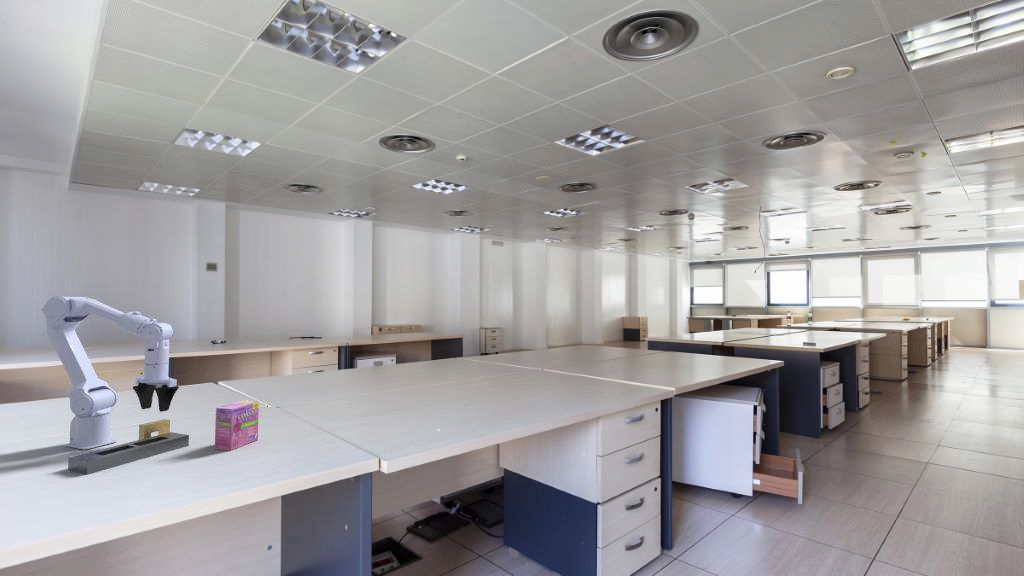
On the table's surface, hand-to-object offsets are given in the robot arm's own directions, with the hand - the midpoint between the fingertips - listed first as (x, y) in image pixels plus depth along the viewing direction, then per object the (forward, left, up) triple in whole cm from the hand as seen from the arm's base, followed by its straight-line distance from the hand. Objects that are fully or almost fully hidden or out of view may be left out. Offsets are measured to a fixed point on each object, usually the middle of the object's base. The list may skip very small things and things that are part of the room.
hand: (155, 409), depth 135 cm
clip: (-1, +1, -10) cm, 10 cm away
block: (+7, -9, -10) cm, 15 cm away
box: (+23, +9, -10) cm, 27 cm away
